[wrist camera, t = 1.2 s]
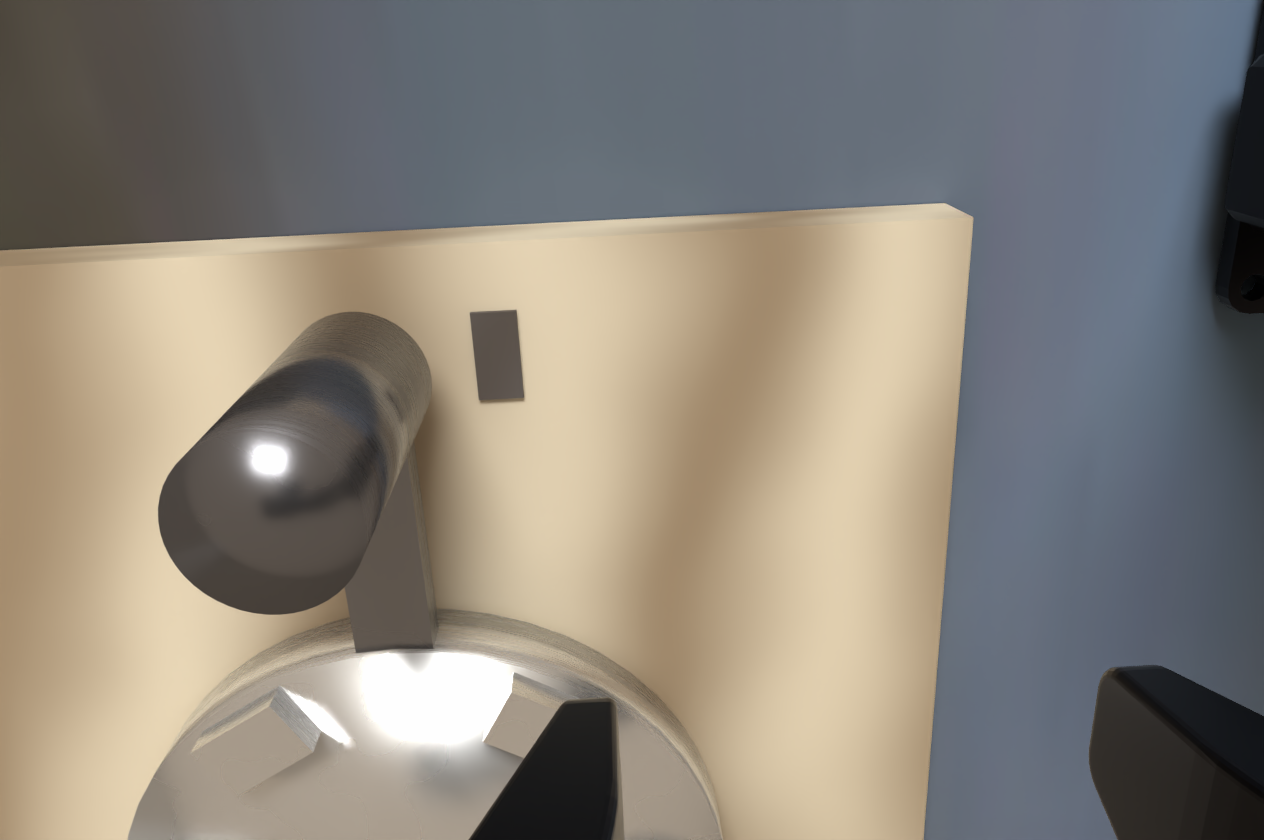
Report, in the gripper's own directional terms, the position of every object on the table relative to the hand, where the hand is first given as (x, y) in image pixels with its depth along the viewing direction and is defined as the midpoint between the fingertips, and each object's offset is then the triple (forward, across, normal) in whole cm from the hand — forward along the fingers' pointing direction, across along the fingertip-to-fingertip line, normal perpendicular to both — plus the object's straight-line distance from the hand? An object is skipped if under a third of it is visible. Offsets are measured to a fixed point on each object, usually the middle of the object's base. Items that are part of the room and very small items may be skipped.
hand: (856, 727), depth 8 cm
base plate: (+12, +7, +8) cm, 16 cm away
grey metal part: (+10, +6, +8) cm, 14 cm away
